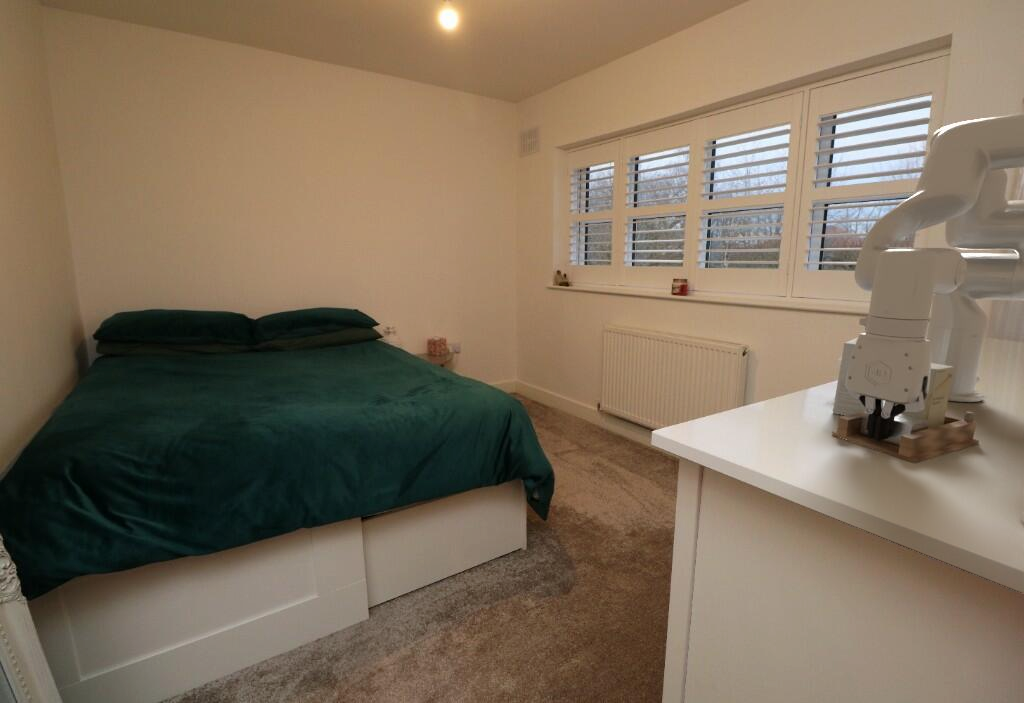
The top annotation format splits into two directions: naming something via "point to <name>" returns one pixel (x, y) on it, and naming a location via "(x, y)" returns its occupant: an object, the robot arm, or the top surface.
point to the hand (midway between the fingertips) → (877, 437)
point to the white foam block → (899, 426)
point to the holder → (915, 437)
